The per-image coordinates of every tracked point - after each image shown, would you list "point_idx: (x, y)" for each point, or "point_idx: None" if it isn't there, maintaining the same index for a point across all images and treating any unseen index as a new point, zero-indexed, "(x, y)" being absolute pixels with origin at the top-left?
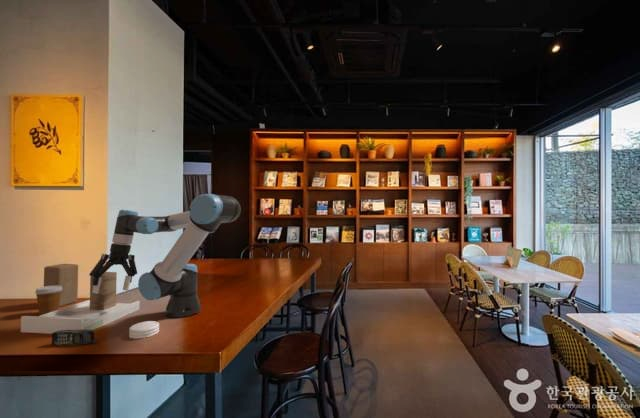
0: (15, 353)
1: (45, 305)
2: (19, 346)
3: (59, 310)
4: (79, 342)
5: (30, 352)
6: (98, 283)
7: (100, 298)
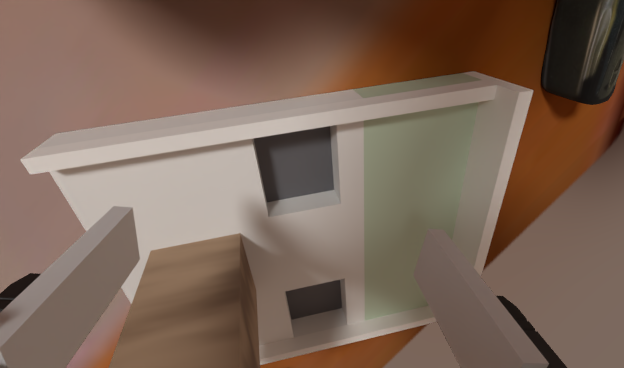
0: (604, 134)
1: None
2: (548, 180)
3: (330, 340)
4: None
5: None
6: (496, 303)
7: (245, 300)
